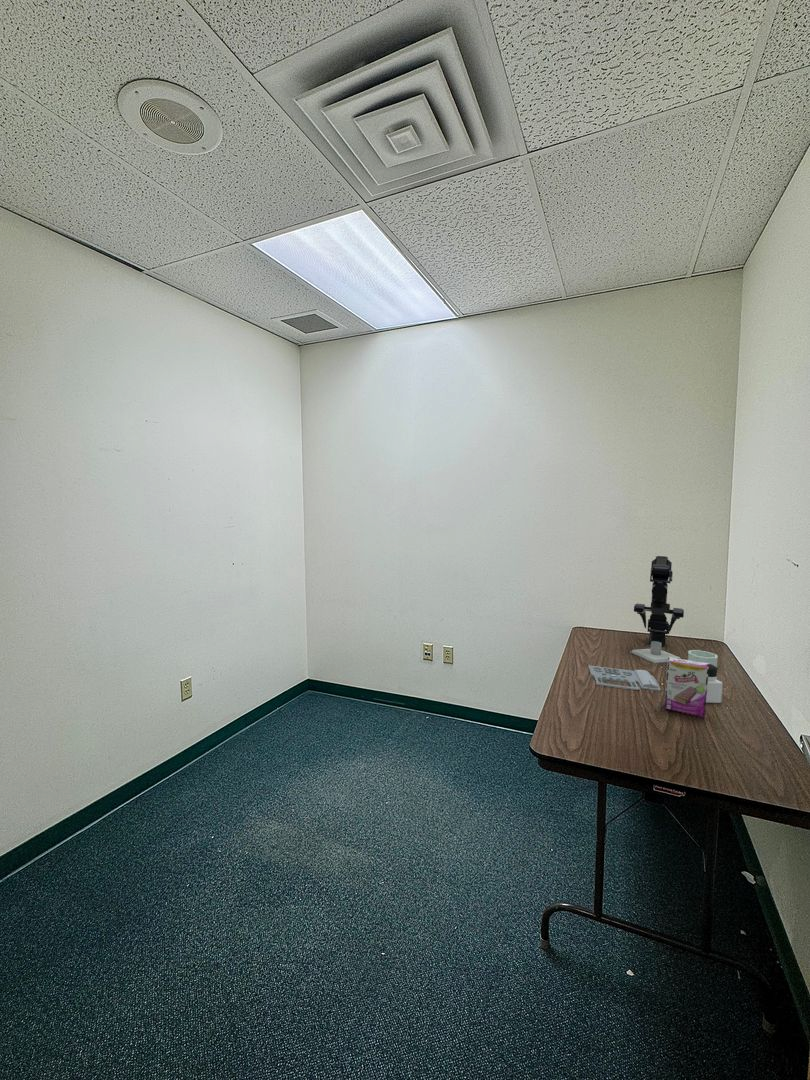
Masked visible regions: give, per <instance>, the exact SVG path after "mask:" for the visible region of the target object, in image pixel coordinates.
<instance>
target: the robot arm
mask: <svg viewBox="0 0 810 1080" xmlns="http://www.w3.org/2000/svg"><path fill="white" fill-rule="evenodd" d="M649 578H650V579H649V582H650V583H652V585H651V602H650V606H646V604H643V603H635V604H634V606H633V612H635V613H636V614H637V615H639V616H640V617H641V619H642V623H643V626H644V629H647V633H649V637H648V638H649V639H648V641H646V643H647V644H649V645H651V641H657V642H661V643H662V646H661V647H667V646H668V644H666V635H669V634H670V632H671V630H672V628H673V626H674V624H675V622H676V621H677V620H680V618H684V613H685V610H684V609H683V608H678V607H673V608H672V609H671V604H670V603H667V602H668V584H671V582H673V570H672V562H671V561H670V560H669V557H668V556H665V555H657V556H655V559H653V560H652V561H651V568H650V577H649ZM646 612H650V613H651V614H650V615H649V618H648V620H647V615H646V614H647V613H646ZM666 614H669V615H671V618H670V623H669V621H667V615H666Z"/></svg>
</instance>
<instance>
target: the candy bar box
mask: <svg viewBox="0 0 810 1080" xmlns="http://www.w3.org/2000/svg"><path fill="white" fill-rule="evenodd" d="M666 663H667V664H666V665H667V666H666V675H665V677H666V678H665V689H664V690H665V691H664V692H665V693H664V708H665V709H664V710H666V709H668V710H667V711H670V710H673V711H672V712H675V711H678V712H677V713H679V712H682V713H681V714H684V713H686V715H689V714H691V715H690V716H693V715H694V717H698V716H699V718H703V719H704V718H705V717H706V708H707V707H706V706H707V703H706V696H707V683H708V671H709V667H708V664H707V663H702V662H696V661H690V660H688V659H685V658H683V659H682V658H680V659H678V658H672V657H668V662H666Z"/></svg>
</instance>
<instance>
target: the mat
mask: <svg viewBox="0 0 810 1080" xmlns="http://www.w3.org/2000/svg"><path fill="white" fill-rule="evenodd" d="M628 652H629V653H631V654H634V655H635V656H637V657H639V658H643V659H644V660H646V661H649V662H651V663H653V664H656V663H657V664H659V663H668V661H660V662H653V661H651V660H649V659H647V658H644V657H642V656H640V655H638V654H636V653H633V652H632V650H629V651H628Z"/></svg>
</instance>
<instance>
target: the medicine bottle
mask: <svg viewBox="0 0 810 1080" xmlns="http://www.w3.org/2000/svg"><path fill="white" fill-rule="evenodd" d="M707 664H708V667H709V671H708V683H707V696H706V704H710V703H711V704H721V703H722V700H723V698H722V697H723V685H724V683H723V682H722V681H720V680H718V679H717V675H718V667H717V668H716V666H714V665H712V664H709V663H707Z"/></svg>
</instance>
